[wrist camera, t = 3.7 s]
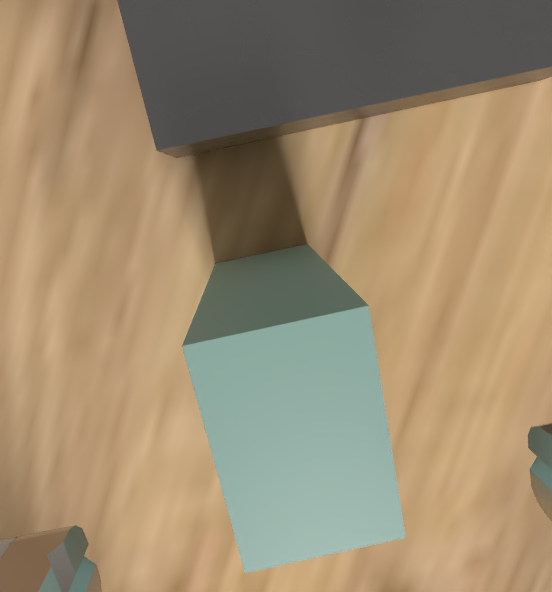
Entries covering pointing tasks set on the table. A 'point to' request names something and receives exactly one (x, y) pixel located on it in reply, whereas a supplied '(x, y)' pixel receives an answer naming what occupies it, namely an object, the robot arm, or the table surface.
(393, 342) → the table surface
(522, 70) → the collar block
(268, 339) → the sage green box
